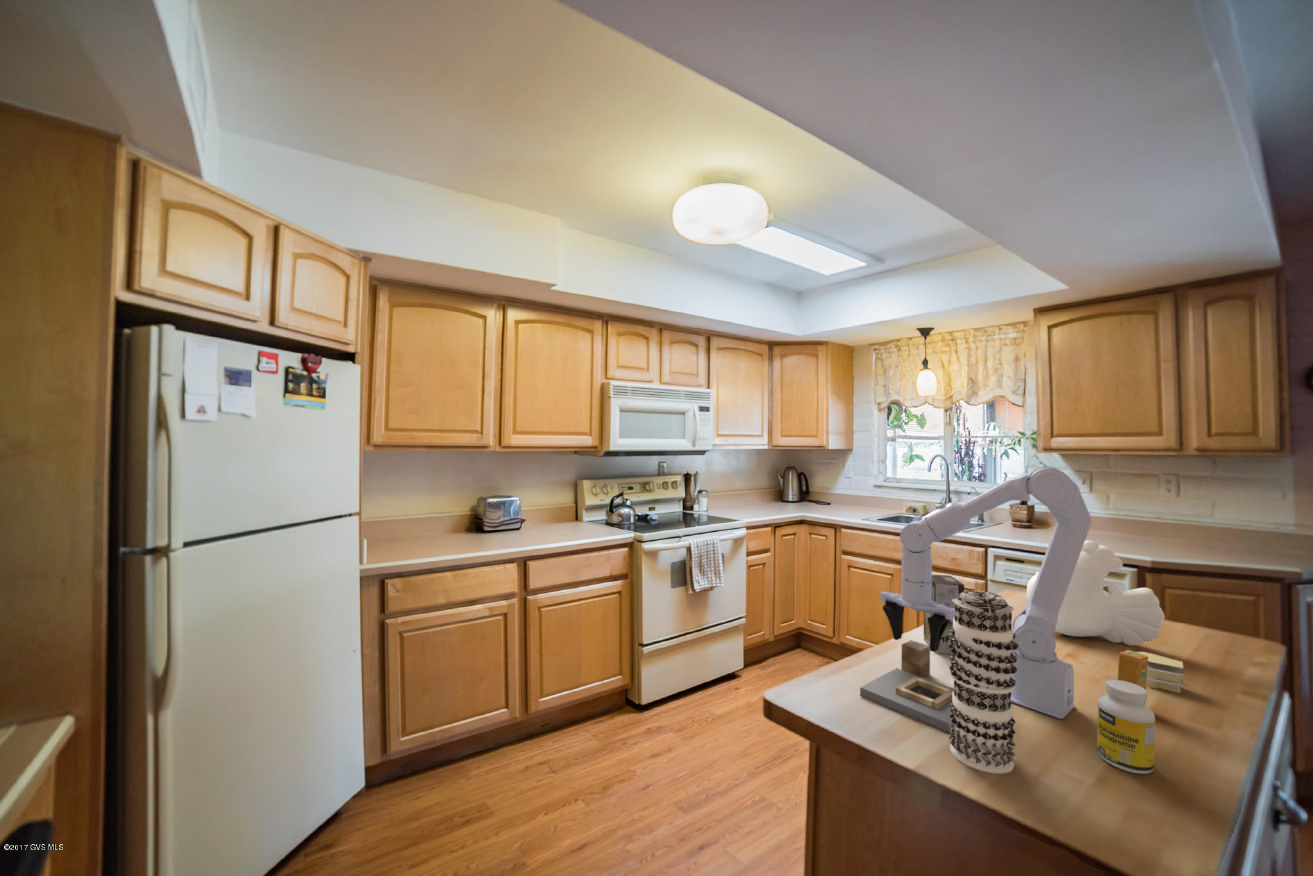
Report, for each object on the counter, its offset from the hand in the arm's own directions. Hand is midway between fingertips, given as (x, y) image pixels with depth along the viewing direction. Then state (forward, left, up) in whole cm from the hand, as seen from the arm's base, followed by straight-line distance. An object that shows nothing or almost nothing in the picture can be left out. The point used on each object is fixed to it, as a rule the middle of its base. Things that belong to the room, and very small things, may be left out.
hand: (915, 644), depth 109 cm
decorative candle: (-20, +21, -6) cm, 30 cm away
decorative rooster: (-17, -55, -6) cm, 58 cm away
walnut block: (0, 0, -6) cm, 6 cm away
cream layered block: (-32, -35, -7) cm, 48 cm away
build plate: (-7, +11, -6) cm, 14 cm away
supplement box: (-31, -18, -6) cm, 36 cm away
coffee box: (+3, -20, -6) cm, 21 cm away
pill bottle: (-34, +5, -6) cm, 35 cm away
